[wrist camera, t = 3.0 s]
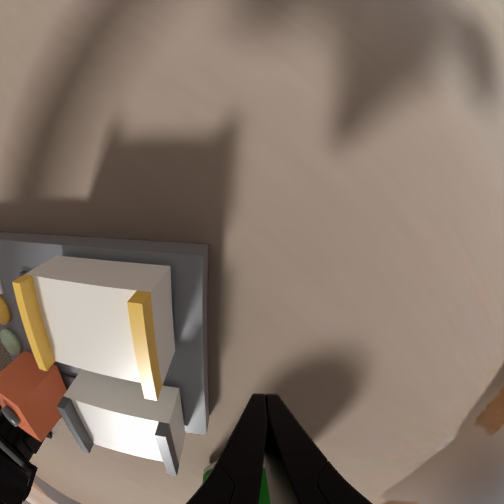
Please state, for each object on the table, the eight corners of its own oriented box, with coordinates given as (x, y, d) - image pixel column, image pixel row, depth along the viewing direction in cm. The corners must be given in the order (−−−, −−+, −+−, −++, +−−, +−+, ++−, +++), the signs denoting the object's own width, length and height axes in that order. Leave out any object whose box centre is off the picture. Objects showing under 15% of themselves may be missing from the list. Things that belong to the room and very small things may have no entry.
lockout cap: (40, 386, 17) (5, 423, 11) (25, 350, 16) (-17, 387, 10) (72, 403, 16) (37, 447, 11) (57, 366, 15) (13, 411, 10)
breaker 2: (100, 414, 17) (82, 450, 13) (82, 368, 15) (56, 406, 11) (185, 432, 17) (176, 476, 13) (179, 387, 15) (165, 437, 12)
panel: (32, 372, 19) (20, 387, 16) (-6, 231, 15) (-27, 239, 12) (209, 416, 19) (205, 439, 17) (208, 244, 15) (201, 258, 13)
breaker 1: (71, 331, 14) (39, 368, 10) (57, 255, 13) (12, 281, 9) (175, 350, 14) (157, 400, 11) (170, 265, 13) (142, 304, 9)
